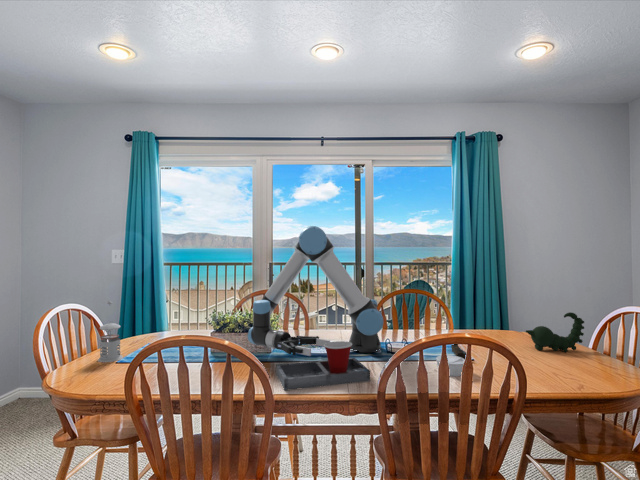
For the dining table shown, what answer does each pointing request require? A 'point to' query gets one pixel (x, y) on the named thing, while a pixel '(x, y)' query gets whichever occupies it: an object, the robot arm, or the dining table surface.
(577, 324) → the toy figurine
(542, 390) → the dining table surface
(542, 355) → the dining table surface
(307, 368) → the tray
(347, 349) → the plastic cup
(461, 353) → the hand tool
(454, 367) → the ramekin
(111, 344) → the french press
